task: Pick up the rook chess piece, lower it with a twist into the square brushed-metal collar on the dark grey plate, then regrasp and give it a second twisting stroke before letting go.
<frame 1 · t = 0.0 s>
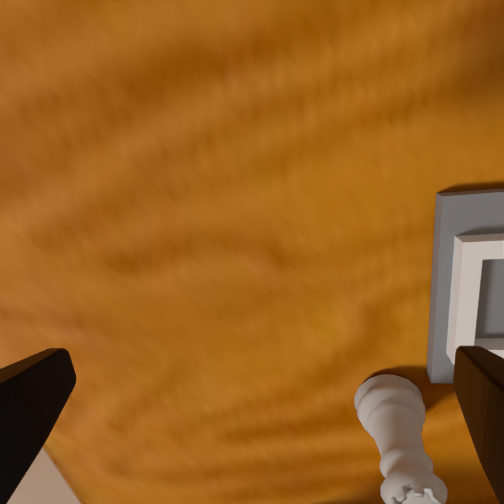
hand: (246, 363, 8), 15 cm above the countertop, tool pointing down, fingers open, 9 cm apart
rook chess piece: (385, 394, 25), on the countertop
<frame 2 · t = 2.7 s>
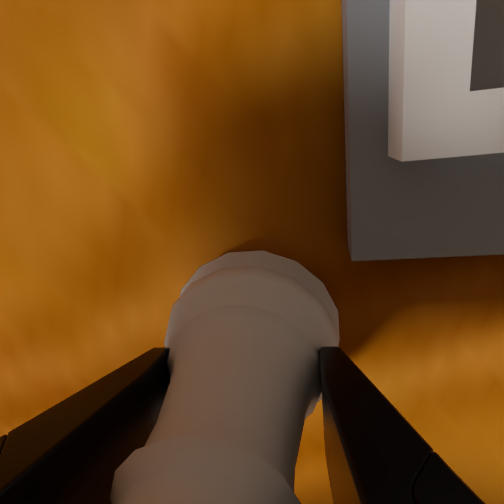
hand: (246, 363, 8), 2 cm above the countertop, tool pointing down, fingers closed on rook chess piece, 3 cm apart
rook chess piece: (258, 315, 10), on the countertop, touching gripper
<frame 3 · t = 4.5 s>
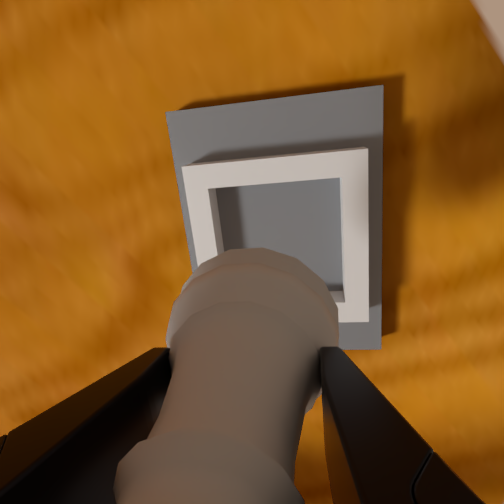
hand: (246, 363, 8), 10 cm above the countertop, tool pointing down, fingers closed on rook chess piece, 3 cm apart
collar plate: (282, 232, 18), on the countertop
rook chess piece: (259, 312, 11), point 8 cm above the countertop, touching gripper
when the fingers open (3 cm above the countertop, at t = 6.3 s): rook chess piece stays where it is, resting on collar plate.
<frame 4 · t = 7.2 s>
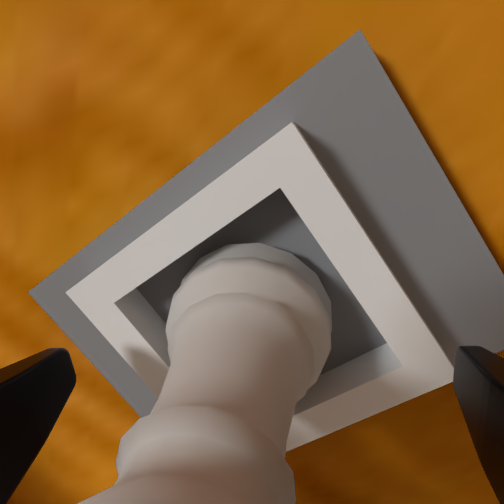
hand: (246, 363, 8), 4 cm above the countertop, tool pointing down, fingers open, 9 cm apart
collar plate: (263, 296, 12), on the countertop
rook chess piece: (255, 306, 11), point 1 cm above the countertop, touching collar plate
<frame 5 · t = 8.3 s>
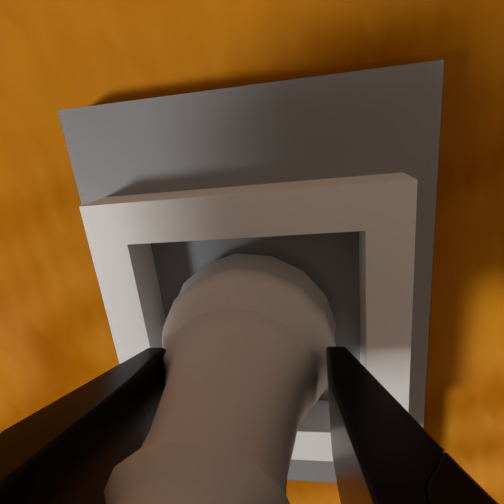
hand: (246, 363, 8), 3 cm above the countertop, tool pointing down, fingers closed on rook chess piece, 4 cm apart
collar plate: (262, 302, 11), on the countertop
rook chess piece: (255, 318, 10), point 1 cm above the countertop, touching collar plate, gripper
when the fingers open (3 cm above the countertop, at t = 9.5 s): rook chess piece stays where it is, resting on collar plate.
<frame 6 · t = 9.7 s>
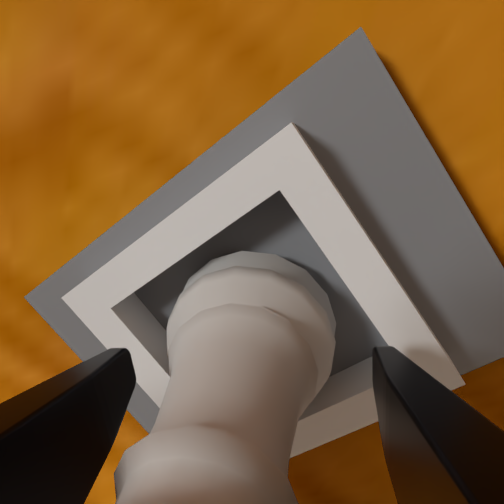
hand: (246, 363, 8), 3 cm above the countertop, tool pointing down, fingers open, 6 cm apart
collar plate: (263, 300, 11), on the countertop
rook chess piece: (257, 314, 11), point 1 cm above the countertop, touching collar plate
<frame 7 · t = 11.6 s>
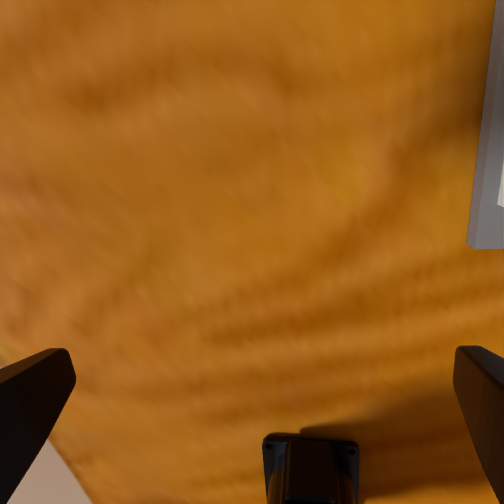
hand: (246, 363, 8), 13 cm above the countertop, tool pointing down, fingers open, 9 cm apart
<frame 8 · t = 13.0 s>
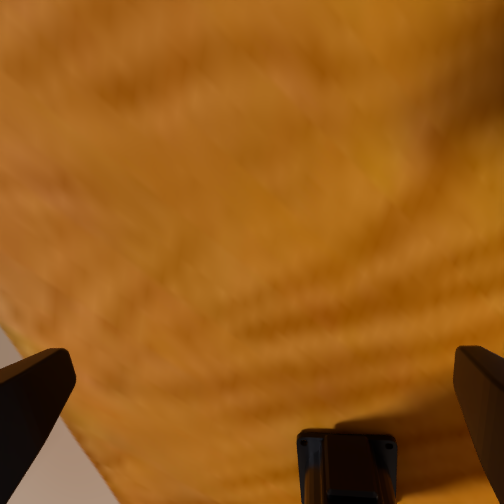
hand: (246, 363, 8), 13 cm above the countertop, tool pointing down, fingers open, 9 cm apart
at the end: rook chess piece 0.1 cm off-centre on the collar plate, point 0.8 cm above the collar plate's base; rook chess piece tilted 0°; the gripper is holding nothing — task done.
